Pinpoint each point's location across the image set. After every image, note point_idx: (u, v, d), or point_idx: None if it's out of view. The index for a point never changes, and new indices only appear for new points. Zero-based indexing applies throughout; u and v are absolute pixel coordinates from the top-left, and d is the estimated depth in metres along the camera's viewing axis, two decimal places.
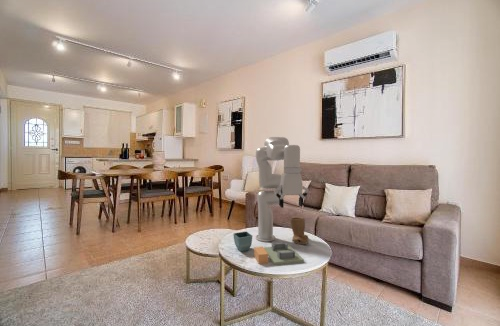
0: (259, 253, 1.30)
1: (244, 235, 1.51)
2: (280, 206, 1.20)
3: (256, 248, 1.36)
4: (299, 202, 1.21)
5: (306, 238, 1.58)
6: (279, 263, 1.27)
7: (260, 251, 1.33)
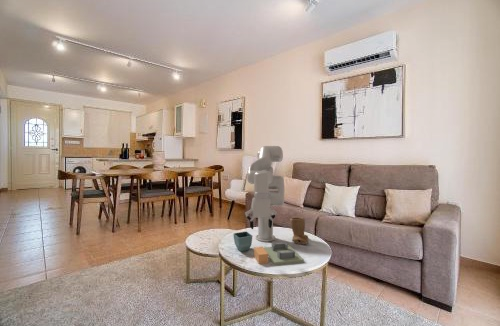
0: (259, 253, 1.30)
1: (244, 235, 1.51)
2: (251, 227, 1.32)
3: (256, 248, 1.36)
4: (268, 223, 1.34)
5: (306, 238, 1.58)
6: (279, 263, 1.27)
7: (260, 251, 1.33)
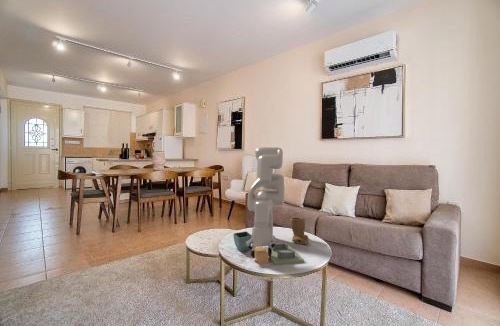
0: (259, 253, 1.30)
1: (244, 235, 1.51)
2: (252, 256, 1.33)
3: (256, 248, 1.36)
4: (268, 252, 1.35)
5: (306, 238, 1.58)
6: (279, 263, 1.27)
7: (260, 251, 1.33)
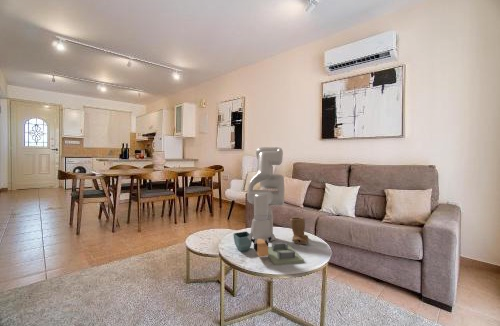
0: (259, 246, 1.30)
1: (244, 235, 1.51)
2: (255, 249, 1.35)
3: None
4: None
5: (306, 238, 1.58)
6: (279, 263, 1.27)
7: (260, 243, 1.33)
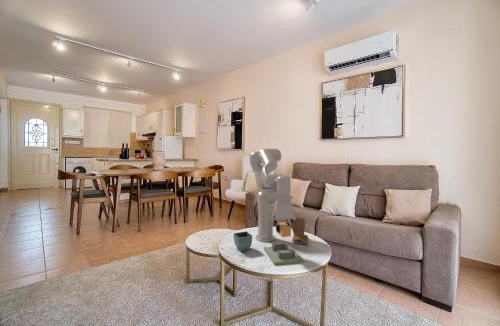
0: (282, 226, 1.33)
1: (244, 235, 1.51)
2: (277, 231, 1.38)
3: None
4: None
5: (306, 238, 1.58)
6: (279, 263, 1.27)
7: (283, 225, 1.36)
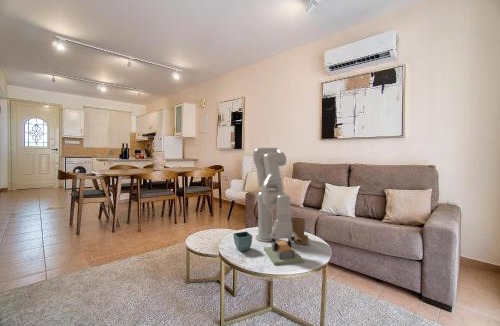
0: (282, 246, 1.34)
1: (244, 235, 1.51)
2: (275, 249, 1.38)
3: (278, 242, 1.41)
4: None
5: (306, 238, 1.58)
6: (279, 263, 1.27)
7: (282, 244, 1.37)
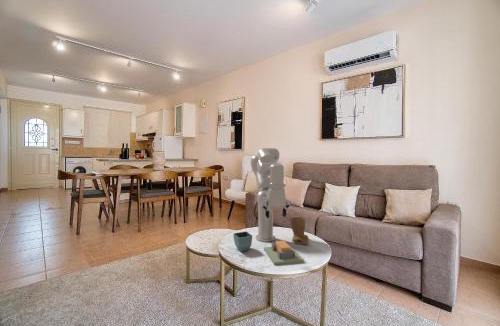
0: (282, 246, 1.34)
1: (244, 235, 1.51)
2: (266, 216, 1.39)
3: (278, 242, 1.41)
4: (282, 212, 1.41)
5: (306, 238, 1.58)
6: (279, 263, 1.27)
7: (282, 244, 1.37)
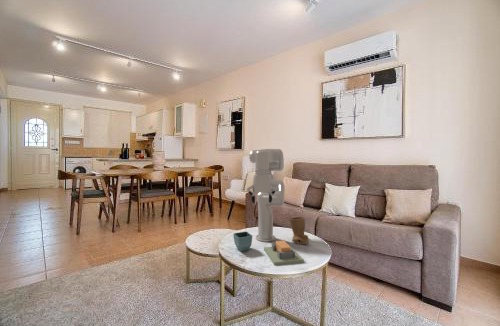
0: (282, 246, 1.34)
1: (244, 235, 1.51)
2: (252, 202, 1.42)
3: (278, 242, 1.41)
4: (269, 199, 1.44)
5: (306, 238, 1.58)
6: (279, 263, 1.27)
7: (282, 244, 1.37)
